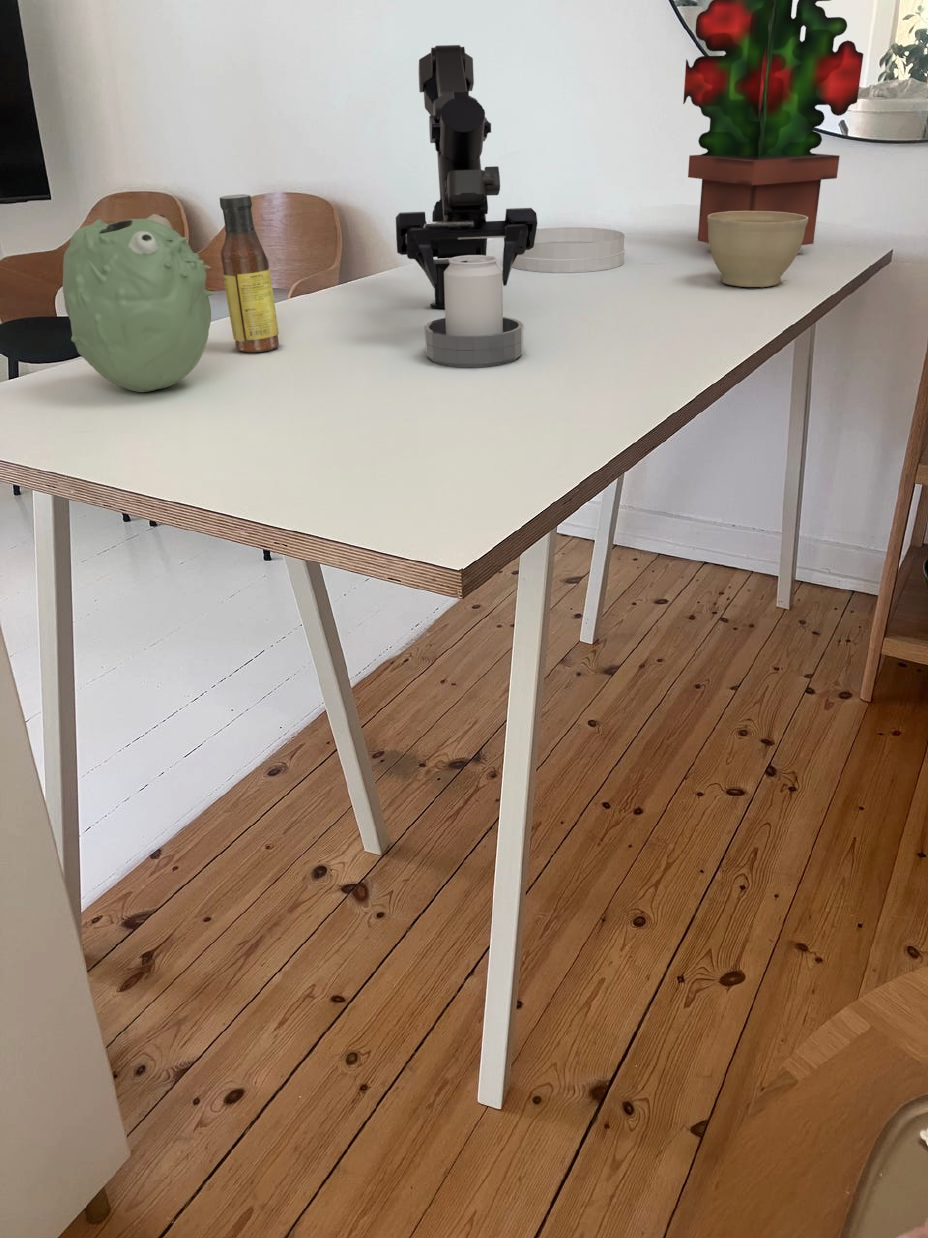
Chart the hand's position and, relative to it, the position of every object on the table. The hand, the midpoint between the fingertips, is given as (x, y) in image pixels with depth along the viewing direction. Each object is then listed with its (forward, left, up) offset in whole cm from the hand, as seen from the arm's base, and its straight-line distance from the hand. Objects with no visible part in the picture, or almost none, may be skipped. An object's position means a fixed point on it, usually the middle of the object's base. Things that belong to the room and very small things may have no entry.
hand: (470, 285), depth 140 cm
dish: (-16, +69, -9) cm, 71 cm away
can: (+2, -3, -8) cm, 9 cm away
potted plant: (+14, +92, -9) cm, 93 cm away
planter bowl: (+22, +60, -9) cm, 64 cm away
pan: (+2, -3, -8) cm, 9 cm away
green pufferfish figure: (-27, -33, -9) cm, 44 cm away
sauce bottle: (-28, -11, -9) cm, 31 cm away
